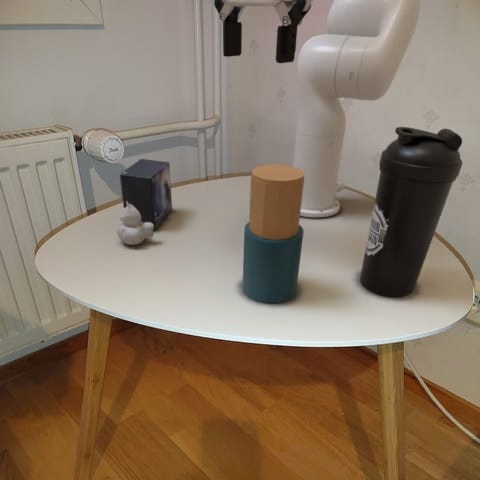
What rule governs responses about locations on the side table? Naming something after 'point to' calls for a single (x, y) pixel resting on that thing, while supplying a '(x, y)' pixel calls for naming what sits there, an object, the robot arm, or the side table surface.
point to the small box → (148, 190)
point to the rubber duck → (133, 226)
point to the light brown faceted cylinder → (275, 201)
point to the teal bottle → (271, 267)
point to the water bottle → (408, 208)
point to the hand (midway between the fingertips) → (257, 58)
